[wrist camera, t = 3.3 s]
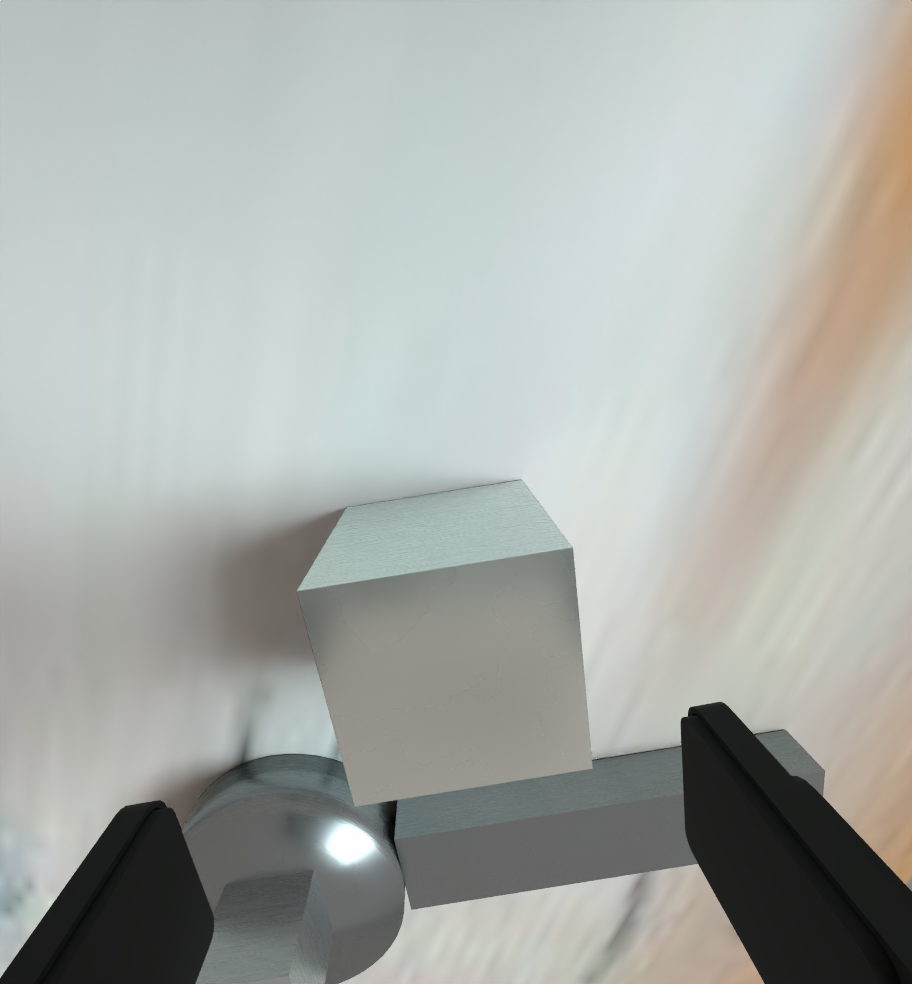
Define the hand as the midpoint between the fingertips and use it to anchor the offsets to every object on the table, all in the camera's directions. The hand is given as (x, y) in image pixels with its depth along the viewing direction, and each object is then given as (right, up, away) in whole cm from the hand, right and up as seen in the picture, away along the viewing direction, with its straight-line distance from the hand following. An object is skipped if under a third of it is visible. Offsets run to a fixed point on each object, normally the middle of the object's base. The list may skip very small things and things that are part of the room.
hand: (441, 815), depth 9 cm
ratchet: (+2, -7, +11) cm, 13 cm away
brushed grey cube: (0, +3, +8) cm, 9 cm away
